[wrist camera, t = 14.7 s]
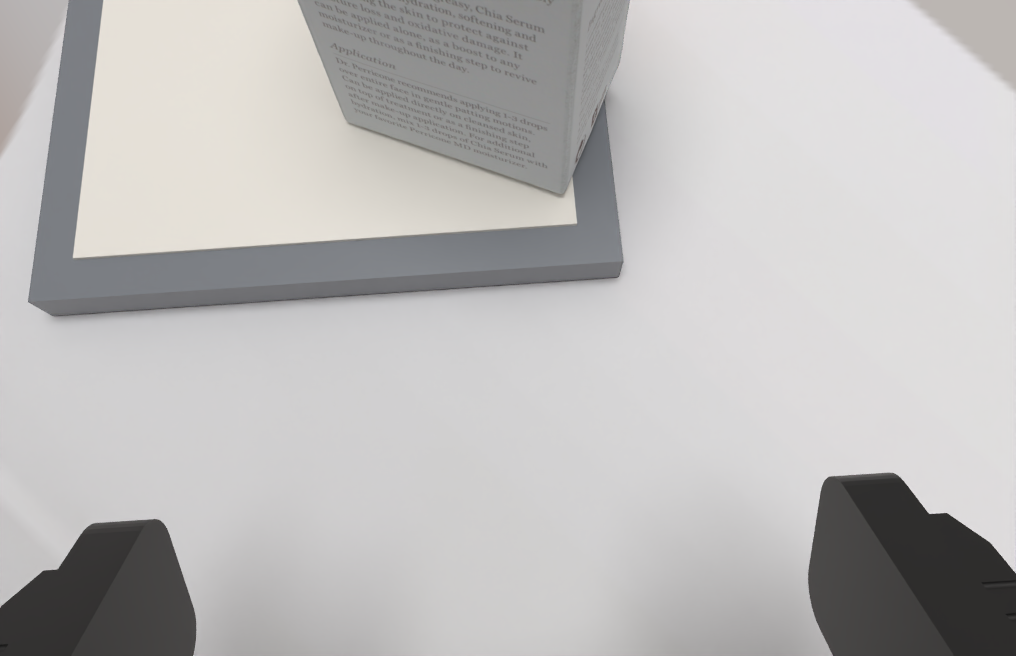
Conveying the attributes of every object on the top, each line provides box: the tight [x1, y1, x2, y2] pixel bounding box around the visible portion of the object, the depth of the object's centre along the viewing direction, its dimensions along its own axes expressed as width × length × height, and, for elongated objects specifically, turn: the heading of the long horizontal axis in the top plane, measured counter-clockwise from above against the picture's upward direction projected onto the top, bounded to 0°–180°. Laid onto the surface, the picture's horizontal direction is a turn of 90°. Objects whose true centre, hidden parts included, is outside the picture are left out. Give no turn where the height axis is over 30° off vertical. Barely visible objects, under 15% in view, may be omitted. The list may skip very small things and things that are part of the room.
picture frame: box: [28, 0, 623, 316], centre depth 20 cm, size 14×10×1 cm
